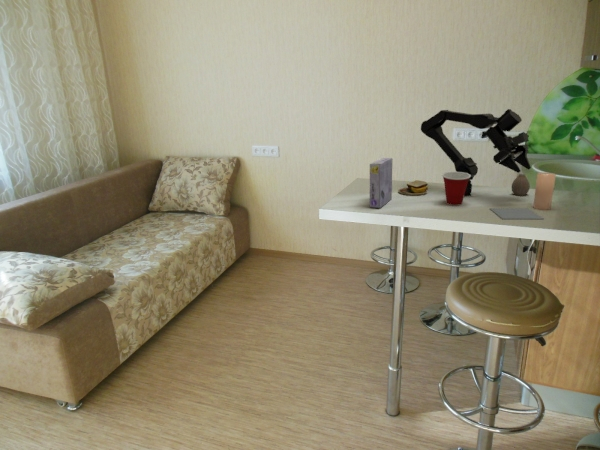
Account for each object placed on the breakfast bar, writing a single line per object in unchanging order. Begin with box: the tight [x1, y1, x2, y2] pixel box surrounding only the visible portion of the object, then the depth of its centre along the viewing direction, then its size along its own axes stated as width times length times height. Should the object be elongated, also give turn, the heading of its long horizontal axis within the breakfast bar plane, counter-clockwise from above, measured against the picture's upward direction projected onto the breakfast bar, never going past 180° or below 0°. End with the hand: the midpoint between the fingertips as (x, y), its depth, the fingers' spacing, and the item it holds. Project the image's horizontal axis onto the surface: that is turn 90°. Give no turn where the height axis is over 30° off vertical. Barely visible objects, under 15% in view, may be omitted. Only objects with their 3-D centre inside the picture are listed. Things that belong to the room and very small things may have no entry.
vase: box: [511, 173, 531, 197], centre depth 188 cm, size 7×7×9 cm
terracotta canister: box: [532, 172, 557, 211], centre depth 167 cm, size 6×6×13 cm
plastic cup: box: [441, 171, 471, 206], centre depth 176 cm, size 11×11×12 cm
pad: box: [489, 207, 545, 221], centre depth 161 cm, size 14×14×1 cm
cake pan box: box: [369, 157, 393, 209], centre depth 179 cm, size 19×5×18 cm, turn 154°
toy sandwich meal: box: [398, 180, 429, 197], centre depth 198 cm, size 12×14×5 cm
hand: (524, 170), depth 171 cm, fingers open, 9 cm apart
